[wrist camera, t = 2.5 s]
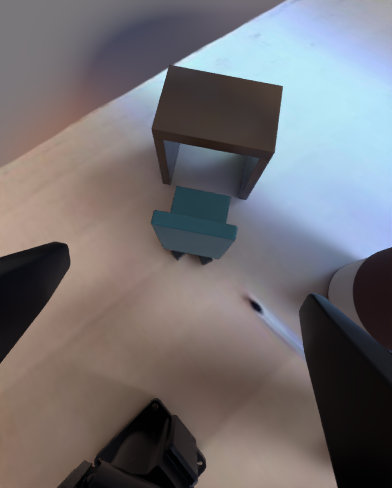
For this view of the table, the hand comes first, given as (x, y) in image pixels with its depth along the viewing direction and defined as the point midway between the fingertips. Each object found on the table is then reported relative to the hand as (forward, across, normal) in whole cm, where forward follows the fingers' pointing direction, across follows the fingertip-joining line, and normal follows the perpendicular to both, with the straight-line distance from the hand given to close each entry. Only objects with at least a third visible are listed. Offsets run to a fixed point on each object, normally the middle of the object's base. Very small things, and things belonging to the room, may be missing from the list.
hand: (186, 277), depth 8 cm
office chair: (+13, 0, +6) cm, 14 cm away
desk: (+19, 0, 0) cm, 19 cm away
